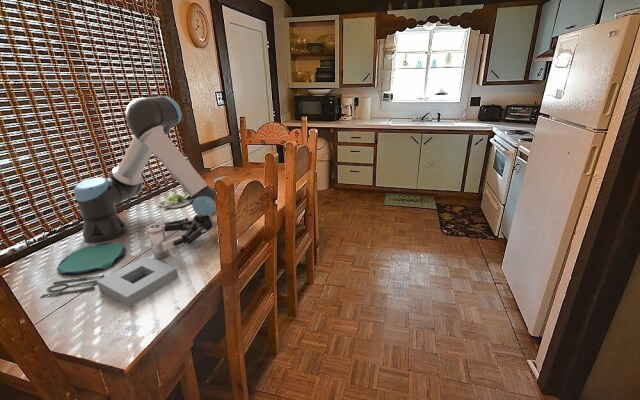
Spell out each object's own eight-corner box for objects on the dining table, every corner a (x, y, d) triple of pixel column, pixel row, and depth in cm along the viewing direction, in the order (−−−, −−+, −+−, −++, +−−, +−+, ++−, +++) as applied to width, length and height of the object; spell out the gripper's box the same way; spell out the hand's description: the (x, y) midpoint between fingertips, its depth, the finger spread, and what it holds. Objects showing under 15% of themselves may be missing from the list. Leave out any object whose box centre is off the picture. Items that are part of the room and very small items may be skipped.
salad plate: (175, 213, 150) (174, 204, 148) (148, 208, 156) (146, 200, 154) (202, 199, 167) (201, 191, 165) (177, 196, 172) (175, 188, 171)
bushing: (149, 257, 111) (141, 228, 106) (164, 249, 116) (157, 221, 111) (160, 262, 108) (152, 231, 103) (175, 253, 113) (168, 224, 108)
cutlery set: (133, 243, 121) (132, 238, 120) (101, 291, 94) (98, 285, 93) (77, 250, 117) (75, 245, 116) (26, 302, 90) (23, 296, 89)
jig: (99, 290, 93) (96, 281, 92) (148, 264, 106) (146, 256, 105) (129, 307, 86) (126, 297, 85) (178, 277, 99) (176, 268, 98)
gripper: (227, 237, 117) (173, 262, 102) (192, 221, 132) (141, 240, 117) (224, 220, 114) (169, 242, 99) (189, 205, 129) (136, 222, 114)
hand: (154, 241), depth 108 cm, fingers open, 13 cm apart
